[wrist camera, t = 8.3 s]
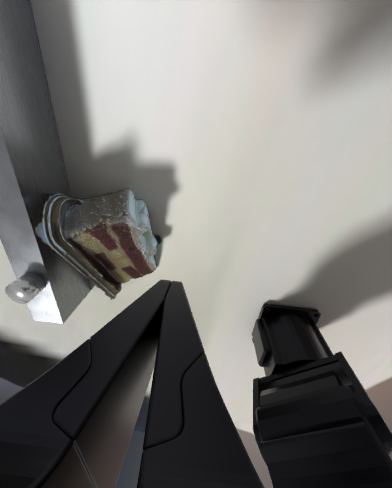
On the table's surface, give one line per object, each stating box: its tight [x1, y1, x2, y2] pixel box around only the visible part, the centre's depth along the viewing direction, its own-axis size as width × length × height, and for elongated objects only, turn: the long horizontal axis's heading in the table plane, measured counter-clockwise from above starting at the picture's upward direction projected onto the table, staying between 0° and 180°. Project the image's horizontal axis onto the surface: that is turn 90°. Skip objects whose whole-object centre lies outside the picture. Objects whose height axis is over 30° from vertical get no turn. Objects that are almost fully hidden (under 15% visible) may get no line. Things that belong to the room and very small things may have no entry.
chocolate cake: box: [35, 189, 161, 299], centre depth 19 cm, size 10×7×12 cm
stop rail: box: [0, 0, 90, 324], centre depth 15 cm, size 3×26×7 cm, turn 175°
